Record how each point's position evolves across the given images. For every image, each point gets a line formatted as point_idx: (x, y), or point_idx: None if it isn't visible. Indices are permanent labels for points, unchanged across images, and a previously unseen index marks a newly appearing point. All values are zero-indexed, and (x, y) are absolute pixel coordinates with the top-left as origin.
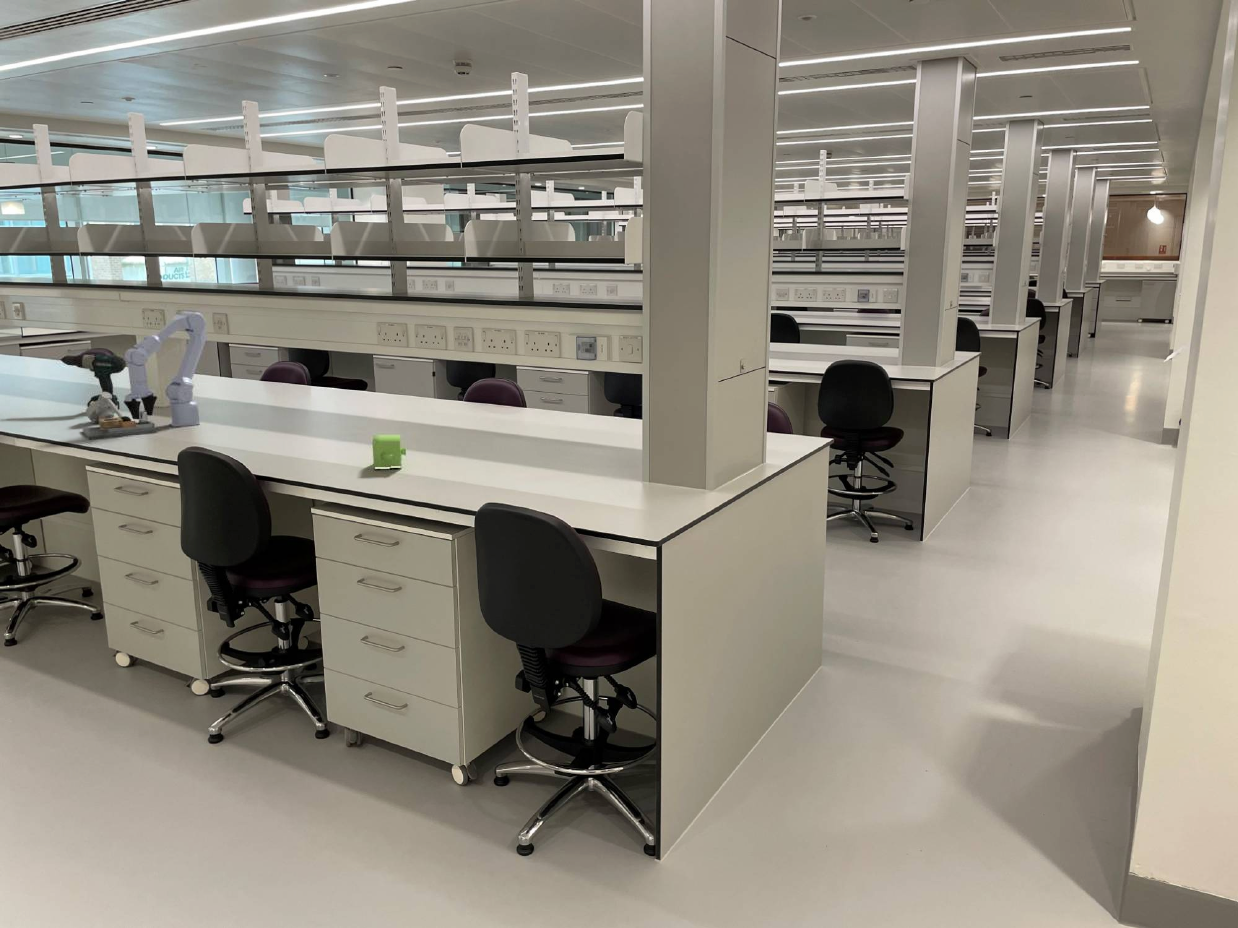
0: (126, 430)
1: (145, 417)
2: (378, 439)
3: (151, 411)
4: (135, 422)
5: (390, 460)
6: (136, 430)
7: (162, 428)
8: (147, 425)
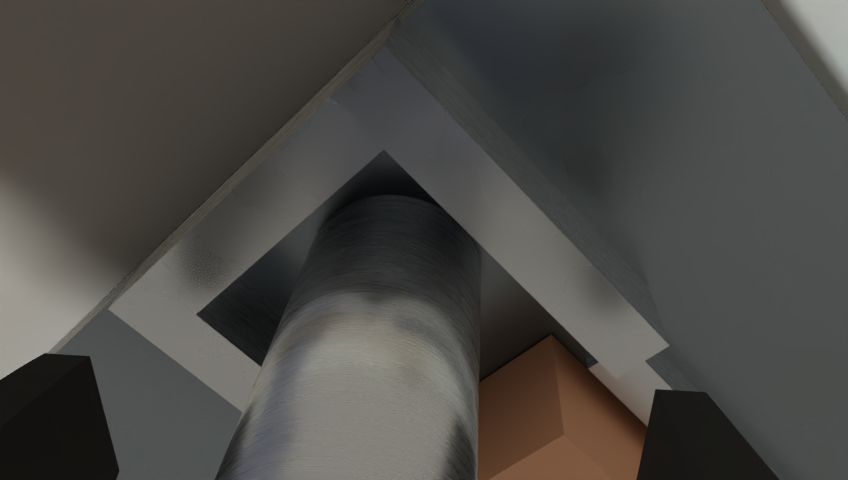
0: (747, 403)
1: (402, 348)
2: None
3: (9, 429)
4: (567, 429)
5: None
6: (755, 235)
7: (121, 5)
8: (502, 161)
